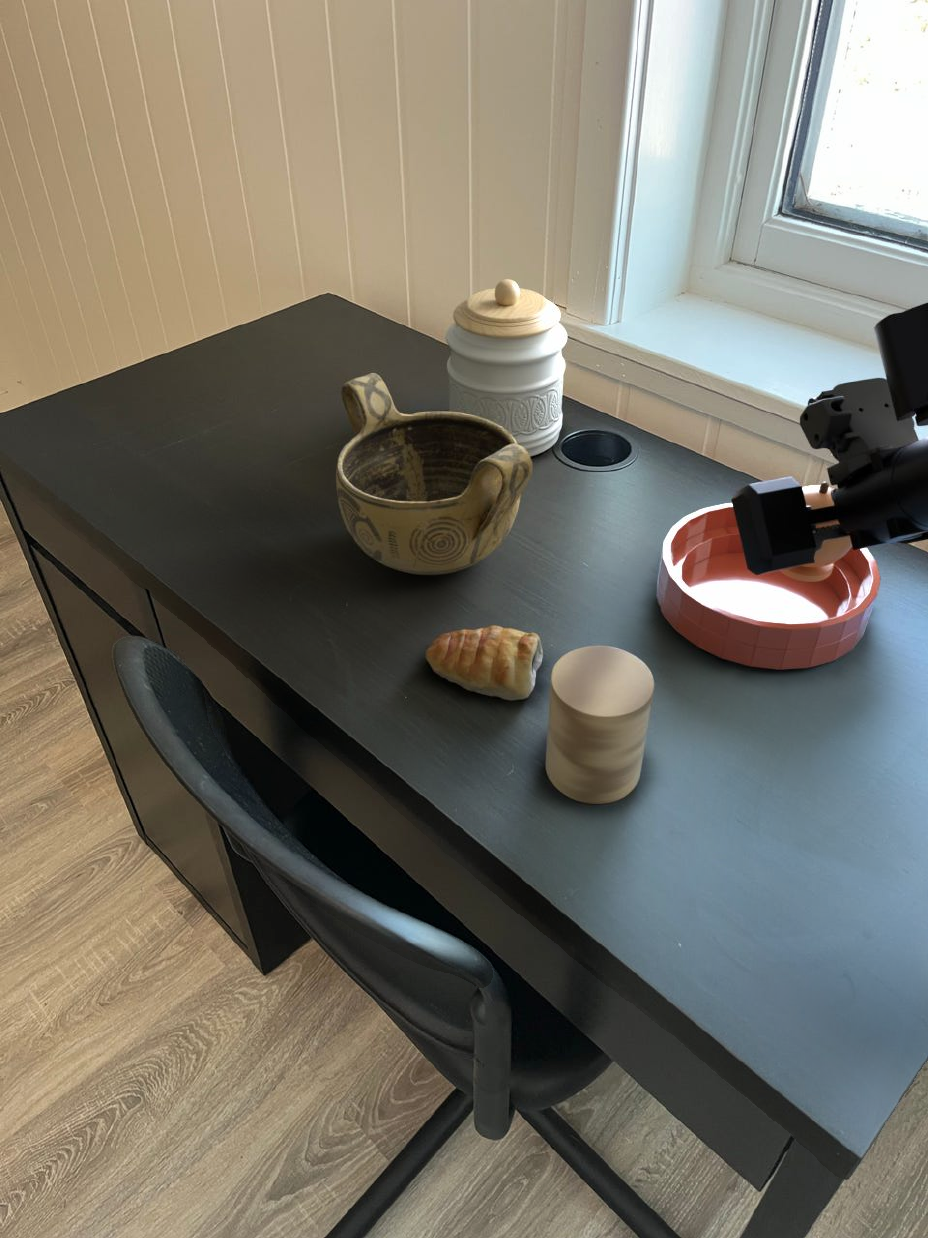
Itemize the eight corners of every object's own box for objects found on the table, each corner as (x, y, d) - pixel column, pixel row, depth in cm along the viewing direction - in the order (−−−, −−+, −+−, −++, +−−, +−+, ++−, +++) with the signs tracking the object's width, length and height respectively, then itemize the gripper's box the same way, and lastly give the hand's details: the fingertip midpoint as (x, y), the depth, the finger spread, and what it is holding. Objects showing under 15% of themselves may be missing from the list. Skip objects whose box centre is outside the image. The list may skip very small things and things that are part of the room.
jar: (489, 396, 115) (490, 249, 104) (582, 425, 109) (593, 273, 98) (425, 441, 107) (418, 287, 96) (522, 474, 101) (526, 315, 90)
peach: (862, 575, 75) (889, 491, 70) (799, 599, 73) (822, 514, 68) (806, 534, 79) (828, 453, 74) (746, 555, 77) (763, 473, 72)
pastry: (418, 690, 77) (416, 655, 74) (437, 637, 82) (436, 602, 79) (532, 707, 75) (534, 671, 73) (545, 651, 80) (547, 616, 78)
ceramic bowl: (578, 567, 89) (590, 424, 79) (442, 650, 80) (436, 501, 71) (426, 475, 102) (419, 342, 92) (294, 538, 93) (271, 399, 83)
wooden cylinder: (652, 749, 71) (666, 662, 66) (622, 817, 67) (636, 729, 61) (565, 721, 74) (572, 634, 68) (531, 784, 69) (535, 697, 63)
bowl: (877, 574, 87) (892, 529, 84) (847, 700, 75) (863, 653, 72) (686, 528, 93) (693, 485, 90) (629, 637, 81) (635, 592, 78)
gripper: (1022, 343, 63) (878, 417, 78) (772, 383, 59) (671, 453, 74) (1064, 505, 62) (910, 548, 77) (814, 556, 58) (703, 591, 73)
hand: (800, 531), depth 76 cm, fingers closed on peach, 6 cm apart
